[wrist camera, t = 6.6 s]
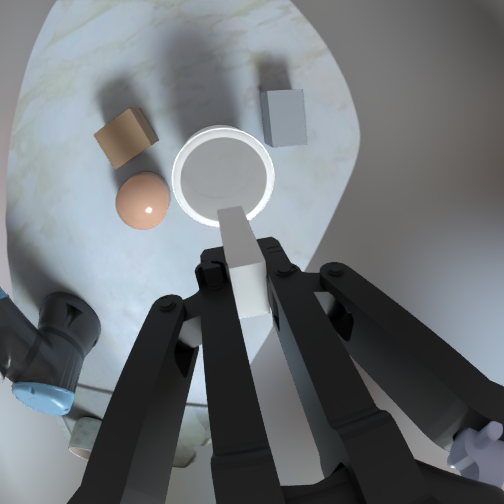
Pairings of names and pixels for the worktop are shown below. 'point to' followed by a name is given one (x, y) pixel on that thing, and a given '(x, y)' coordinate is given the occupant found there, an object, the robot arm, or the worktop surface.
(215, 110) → the worktop surface
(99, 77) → the worktop surface
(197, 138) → the jar
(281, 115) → the slate block
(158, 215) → the glossy peach dome
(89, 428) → the planter
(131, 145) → the walnut block
